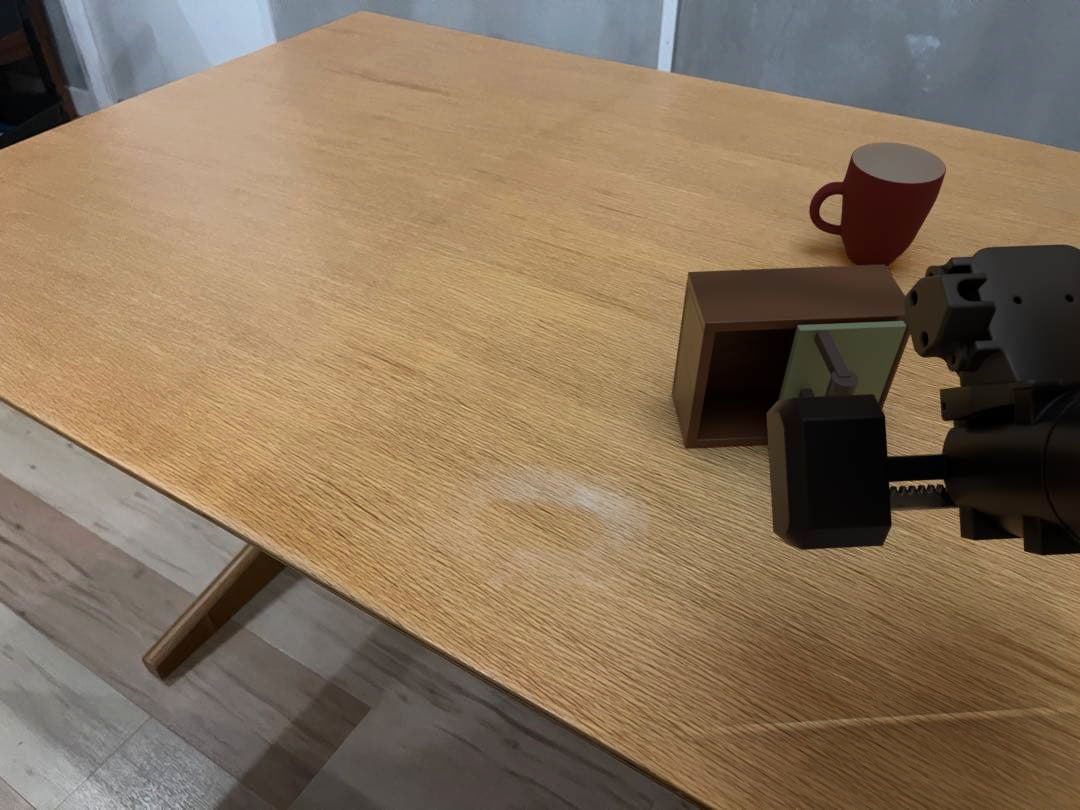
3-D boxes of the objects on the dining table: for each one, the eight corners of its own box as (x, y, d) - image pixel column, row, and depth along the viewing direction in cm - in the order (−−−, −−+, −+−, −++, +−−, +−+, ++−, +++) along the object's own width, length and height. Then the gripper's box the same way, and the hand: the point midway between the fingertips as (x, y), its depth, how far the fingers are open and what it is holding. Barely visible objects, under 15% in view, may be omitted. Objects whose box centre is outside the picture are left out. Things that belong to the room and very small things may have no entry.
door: (890, 496, 56) (940, 379, 49) (790, 501, 56) (825, 384, 49) (861, 436, 61) (903, 320, 53) (767, 440, 60) (797, 324, 53)
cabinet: (871, 440, 61) (918, 314, 53) (685, 448, 61) (705, 323, 53) (844, 387, 66) (884, 263, 58) (671, 394, 65) (687, 271, 57)
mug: (807, 280, 77) (831, 181, 70) (794, 234, 83) (815, 140, 76) (922, 283, 76) (958, 185, 69) (901, 238, 82) (932, 143, 75)
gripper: (1378, 218, 28) (1067, 297, 43) (834, 238, 27) (717, 311, 43) (1407, 549, 27) (1082, 509, 43) (854, 577, 27) (728, 526, 42)
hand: (903, 458), depth 43 cm, fingers open, 9 cm apart
